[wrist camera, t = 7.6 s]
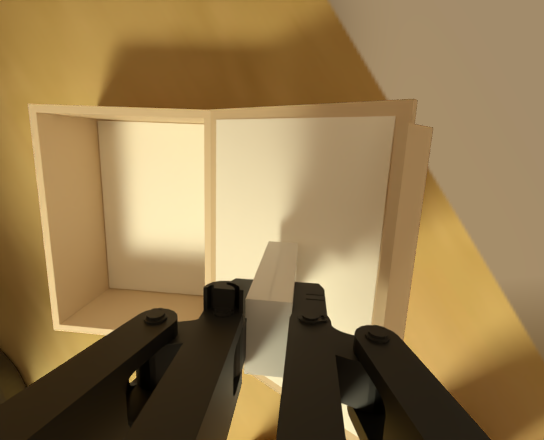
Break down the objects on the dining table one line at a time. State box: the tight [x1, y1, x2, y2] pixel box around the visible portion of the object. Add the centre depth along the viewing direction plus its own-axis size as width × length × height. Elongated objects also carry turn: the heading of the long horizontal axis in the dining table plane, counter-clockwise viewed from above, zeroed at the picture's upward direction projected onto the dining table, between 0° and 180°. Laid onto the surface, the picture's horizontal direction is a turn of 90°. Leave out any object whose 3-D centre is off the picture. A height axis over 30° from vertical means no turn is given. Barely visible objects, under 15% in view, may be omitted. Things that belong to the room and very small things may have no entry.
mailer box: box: [28, 104, 211, 335], centre depth 26 cm, size 12×16×7 cm
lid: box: [211, 99, 433, 440], centre depth 17 cm, size 13×16×2 cm
